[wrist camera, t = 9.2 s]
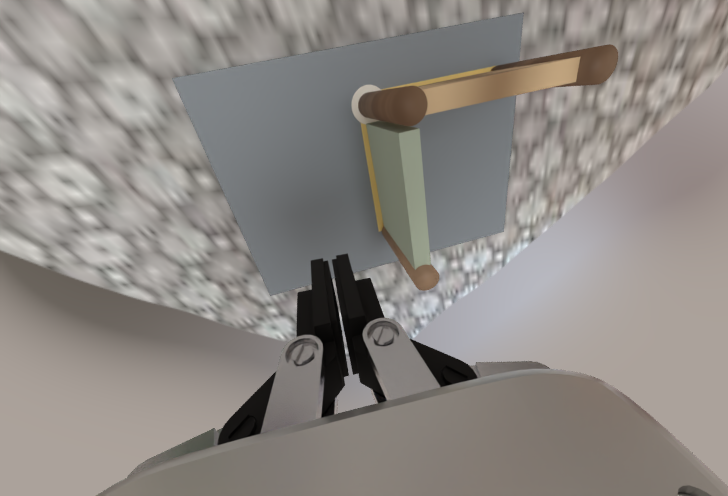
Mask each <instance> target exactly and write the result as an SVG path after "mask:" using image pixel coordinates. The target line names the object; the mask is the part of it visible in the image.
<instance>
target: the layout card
mask: <svg viewBox="0 0 728 496" xmlns="http://www.w3.org/2000/svg"><path fill="white" fill-rule="evenodd" d="M523 14H524V13H518V14H513V15H508V16H502V17H497V18H492V19H486V20H481V21H476V22H470V23H465V24H460V25H454V26H449V27H444V28H438V29H433V30H428V31H422V32H417V33H412V34H406V35H401V36H396V37H390V38H385V39H380V40H374V41H369V42H364V43H358V44H353V45H347V46H342V47H337V48H331V49H326V50H321V51H315V52H310V53H305V54H299V55H294V56H289V57H283V58H278V59H273V60H267V61H262V62H257V63H251V64H246V65H241V66H235V67H230V68H225V69H219V70H214V71H209V72H203V73H198V74H193V75H187V76H182V77H176V78H172V80H173V82H174V84H175V86H176V88H177V91H178V93H179V95H180V97H181V99H182V102H183V104H184V106H185V108H186V110H187V113H188V115H189V117H190V119H191V122H192V124H193V126H194V128H195V130H196V133H197V135H198V137H199V139H200V141H201V144H202V146H203V148H204V150H205V152H206V155H207V157H208V159H209V161H210V163H211V166H212V168H213V170H214V172H215V175H216V177H217V179H218V181H219V183H220V186H221V188H222V190H223V192H224V194H225V197H226V199H227V201H228V203H229V205H230V208H231V210H232V212H233V214H234V216H235V219H236V221H237V223H238V225H239V228H240V230H241V232H242V234H243V236H244V239H245V241H246V243H247V245H248V247H249V250H250V252H251V254H252V256H253V258H254V261H255V263H256V265H257V267H258V270H259V272H260V274H261V276H262V278H263V281H264V283H265V285H266V287H267V289H268V292H269V294H270V296H272V295H275V294H279V293H282V292H286V291H290V290H293V289H297V288H301V287H304V286H308V285H312V281H311V260H315V259H321V258H323V261H327V260H328V263H329V267H330V272H331V277H332V279H333V278H335V275H334V270H333V264H332V259H336V255H342V254H347V253H348V256H349V260H350V264H351V267H352V271H353V273H355V272H359V271H362V270H366V269H370V268H373V267H377V266H381V265H384V264H388V263H391V262H395V261H399V259H398V258H397V256H396V255H395V253H394V252H393V250H392V249H391V247H390V246H389V244H388V242H387V241H386V239H385V238H384V236H383V235H382V228H383V226H384V224H383V219H382V213H381V207H380V201H379V196H378V190H377V184H376V179H375V173H374V167H373V161H372V156H371V150H370V144H369V139H368V133H367V127H366V124H367V123H372V122H376V121H380V120H375V119H370V118H366V117H364V116H362V115H361V113H360V112H359V109H358V102H359V99H360V97H361V96H362V95H363V94H364V93H367V92H373V91H379V90H386V89H392V88H399V87H405V86H422V85H427V84H432V83H436V82H441V81H446V80H451V79H456V78H460V77H465V76H470V75H475V74H479V73H484V72H490V71H491V69H492V68H493V67H495V66H497V65H502V64H508V63H513V62H518V61H519V58H520V47H521V36H522V25H523ZM515 102H516V95H514V96H510V97H505V98H501V99H496V100H492V101H487V102H483V103H478V104H473V105H469V106H464V107H460V108H455V109H451V110H446V111H442V112H437V113H433V114H428V115H425V116H424V118H423V119H422V120H421V121H420V122H419V123H418V124H416V125H414V126H410V127H415V128H419V129H420V141H421V153H422V165H423V177H424V188H425V200H426V212H427V224H428V236H429V248H430V252H431V251H435V250H439V249H442V248H446V247H450V246H453V245H457V244H461V243H464V242H468V241H471V240H475V239H479V238H482V237H486V236H490V235H493V234H497V233H500V232H504V222H505V211H506V201H507V190H508V179H509V168H510V157H511V146H512V135H513V124H514V113H515Z"/></svg>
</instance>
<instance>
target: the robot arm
mask: <svg viewBox="0 0 728 496" xmlns="http://www.w3.org/2000/svg"><path fill="white" fill-rule="evenodd" d="M332 264H333V270H334V275H335V281H336V287H337V293H338V299H339V305H340V310H341V316H342V321H343V327H344V332H345V337H346V342H347V346H348V351H349V356H350V361H351V366H352V371H353V374H358V373H359V378H360V382H361V383H362V384H364V385H366V386H367V387H369V388H371V392H372V395H373V398H374V400H375V402H376V404H374V405H370V406H365V407H362V408H358V409H354V410H350V411H346V412H342V413H338V414H337V405H338V403H337V395H338V394H339V393H340V391H341V390H342V388H343V387H344V386H345V383H344V377H345V376H348V375H349V374H348V368H347V361H346V355H345V349H344V342H343V336H342V330H341V324H340V318H339V312H338V306H337V301H336V296H335V292H334V287H333V282H332V277H331V272H330V267H329V263H328V260H327V261H323V258H321V259H315V260H311V281H312V290H308V291H303V292H298V298H297V337H296V338H294V339H292V340H291V341H290V342H288V343H287V344H286V345H285V347H284V348H283V350H282V353H281V356H280V359H279V364H278V367H277V371H276V372H275V373H274V374H273V375H272V376H271V377H270V378H269V379H268V380H267V381H266V382H265V383H264V384H263V385H262V386H261V387H260V388H259V389H258V390H257V391H256V392H255V393H254V394H253V395H252V396H251V397H250V398H249V399H248V401H246V402H245V404H243V405H242V406H241V408H240V409H239V410H238V411H237V412H236V413H235V414H234V415H233V416H232V417H231V418H230V419H229V420H228V421H227V423H226V424H225V425H224V427H223V428H222V429H219V430H217V431H216V429H215V428H213V429H211V430H209V431H207V432H205V433H203V434H201V435H199V436H197V437H194V438H192V439H190V440H188V441H186V442H184V443H182V444H180V445H178V446H175V447H173V448H171V449H169V450H167V451H165V452H163V453H161V454H159V455H156V456H154V457H152V458H150V459H148V460H146V461H145V462H143V463H142V464H140V465H138V466H137V468H135V469H134V470H133V471H132V472H131V473H130V474H129V475H128V477H127V478H125V479H124V480H121V481H120V482H118V483H116V484H114V485H112V486H111V487H109V488H107V489H106V490H104V491H103V492H101V493H99V494H98V495H96V496H728V486H727V485H726V484H725V483H724V482H723V481H722V480H721V479H720V478H719V477H718V476H717V475H716V474H715V473H713V471H711V470H710V469H709V468H708V467H707V466H706V465H705V464H704V463H703V462H702V461H701V460H699V459H698V458H697V457H696V456H695V455H694V454H693V453H692V452H691V451H690V450H689V449H688V448H686V447H685V446H684V445H683V444H682V443H681V442H680V441H679V440H678V439H676V438H675V436H673V435H672V434H671V433H670V432H669V431H668V430H667V429H666V428H664V427H663V426H662V425H661V424H660V423H659V422H658V421H656V420H655V419H654V418H653V417H652V416H651V415H650V414H648V413H647V412H646V411H645V410H643V409H642V408H641V407H640V406H639V405H637V404H636V403H635V402H634V401H632V400H631V399H630V398H629V397H627V396H626V395H624V394H623V393H622V392H620V391H619V390H618V389H616V388H614V387H613V386H611V385H609V384H608V383H606V382H604V381H602V380H600V379H598V378H595V377H592V376H589V375H586V374H582V373H578V372H573V371H566V370H558V369H550V368H549V367H547V366H545V365H543V364H541V363H538V362H532V361H522V362H476V365H475V366H469V365H468V364H466V363H464V362H463V361H461V360H458V359H456V358H454V357H451V356H449V355H447V354H444V353H442V352H440V351H437V350H435V349H433V348H430V347H428V346H426V345H423V344H421V343H419V342H416V341H414V340H412V339H409V337H408V336H407V334H406V332H405V331H404V329H403V328H402V326H401V325H400V324H399V323H398V322H396V321H395V320H393V319H389V318H384V315H383V312H382V309H381V307H380V304H379V301H378V298H377V295H376V293H375V290H374V287H373V284H372V282H371V279H370V278H366V279H362V280H357V281H355V278H354V275H353V271H352V267H351V264H350V260H349V256H348V253H347V254H342V255H336V259H332Z"/></svg>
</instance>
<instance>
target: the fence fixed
mask: <svg viewBox="0 0 728 496" xmlns="http://www.w3.org/2000/svg"><path fill="white" fill-rule="evenodd" d="M617 61H618V52H617V49H616V47H615V46H613V45H603V46H598V47H593V48H587V49H582V50H577V51H572V52H566V53H561V54H556V55H550V56H545V57H540V58H534V59H529V60H524V61H518V62H513V63H508V64H502V65H497V66H495V67H493V68H492V69H491V71H490V72H484V73H479V74H475V75H470V76H465V77H460V78H456V79H451V80H446V81H441V82H436V83H432V84H427V85H422V86H405V87H399V88H392V89H386V90H379V91H373V92H367V93H364V94H363V95H362V96H361V97H360V99H359V102H358V109H359V112H360V113H361V115H362V116H364V117H366V118H370V119H375V120H380V121H385V122H389V123H394V124H399V125H404V126H414V125H416V124H418V123H419V122H420V121H421V120H422V119H423V118H424V116H425V115H428V114H433V113H437V112H442V111H446V110H451V109H455V108H460V107H464V106H469V105H473V104H478V103H483V102H487V101H492V100H496V99H501V98H505V97H510V96H514V95H519V94H523V93H528V92H532V91H537V90H542V89H546V88H551V87H565V86H581V85H597V84H601V83H603V82H604V81H606V80H607V79H608V78H609V77H610V76H611V74H612V73H613V71H614V69H615V67H616V65H617Z"/></svg>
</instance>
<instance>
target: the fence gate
mask: <svg viewBox="0 0 728 496" xmlns="http://www.w3.org/2000/svg"><path fill="white" fill-rule="evenodd" d="M366 127H367V133H368V139H369V144H370V150H371V156H372V161H373V167H374V173H375V179H376V184H377V190H378V196H379V201H380V207H381V213H382V219H383V224H384V226H383V228H382V235H383V236H384V238H385V239H386V241H387V242H388V244H389V246H390V247H391V249H392V250H393V252H394V253H395V255H396V256H397V258H398V259H399V261H400V262H401V264H402V265H403V267H404V269H405V270H406V272H407V273H408V275H409V276H410V278H411V279H412V281H413V282H414V284H415V285H416V287H417V288H418V289H419V290H429V289H431V288H433V287H434V286H435V285H436V284H437V283H438V281H439V273H438V272H437V271H436V270H435V268H434V267H433V266H432V265H431V259H430V248H429V236H428V224H427V212H426V200H425V188H424V177H423V165H422V153H421V141H420V129H419V128H415V127H410V126H404V125H399V124H394V123H389V122H385V121H376V122H372V123H367V124H366Z"/></svg>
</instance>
